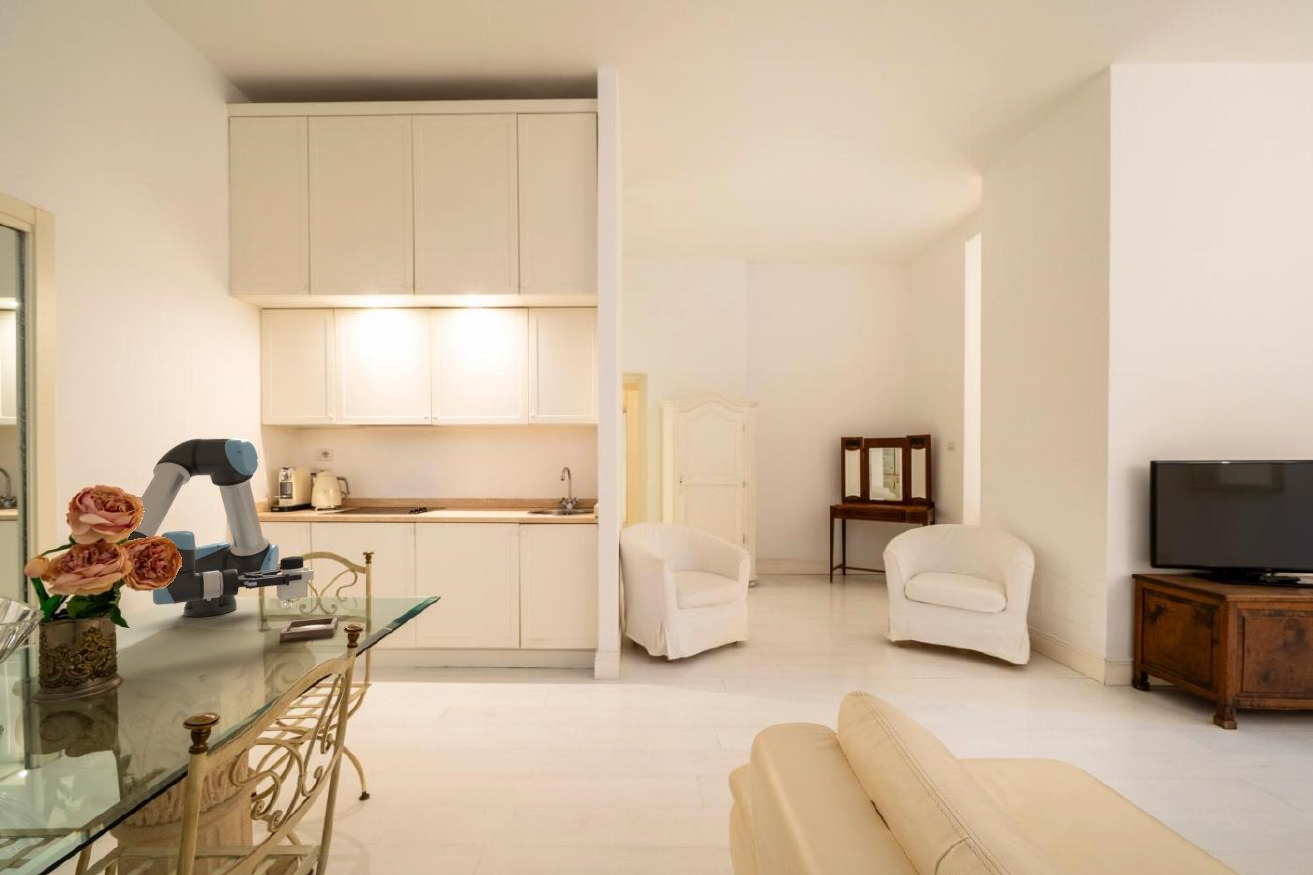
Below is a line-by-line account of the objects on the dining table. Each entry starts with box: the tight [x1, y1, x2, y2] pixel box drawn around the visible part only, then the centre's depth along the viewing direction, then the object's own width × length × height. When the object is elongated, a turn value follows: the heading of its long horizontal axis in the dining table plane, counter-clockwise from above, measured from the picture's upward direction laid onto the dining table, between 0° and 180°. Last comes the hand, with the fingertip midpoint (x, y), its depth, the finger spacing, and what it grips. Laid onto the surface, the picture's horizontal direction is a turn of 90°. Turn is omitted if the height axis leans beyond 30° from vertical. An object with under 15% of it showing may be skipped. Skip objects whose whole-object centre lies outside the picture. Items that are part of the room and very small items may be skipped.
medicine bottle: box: [276, 555, 308, 601], centre depth 198 cm, size 7×7×12 cm
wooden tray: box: [279, 616, 339, 643], centre depth 200 cm, size 14×14×2 cm
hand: (310, 572), depth 201 cm, fingers closed on medicine bottle, 7 cm apart
